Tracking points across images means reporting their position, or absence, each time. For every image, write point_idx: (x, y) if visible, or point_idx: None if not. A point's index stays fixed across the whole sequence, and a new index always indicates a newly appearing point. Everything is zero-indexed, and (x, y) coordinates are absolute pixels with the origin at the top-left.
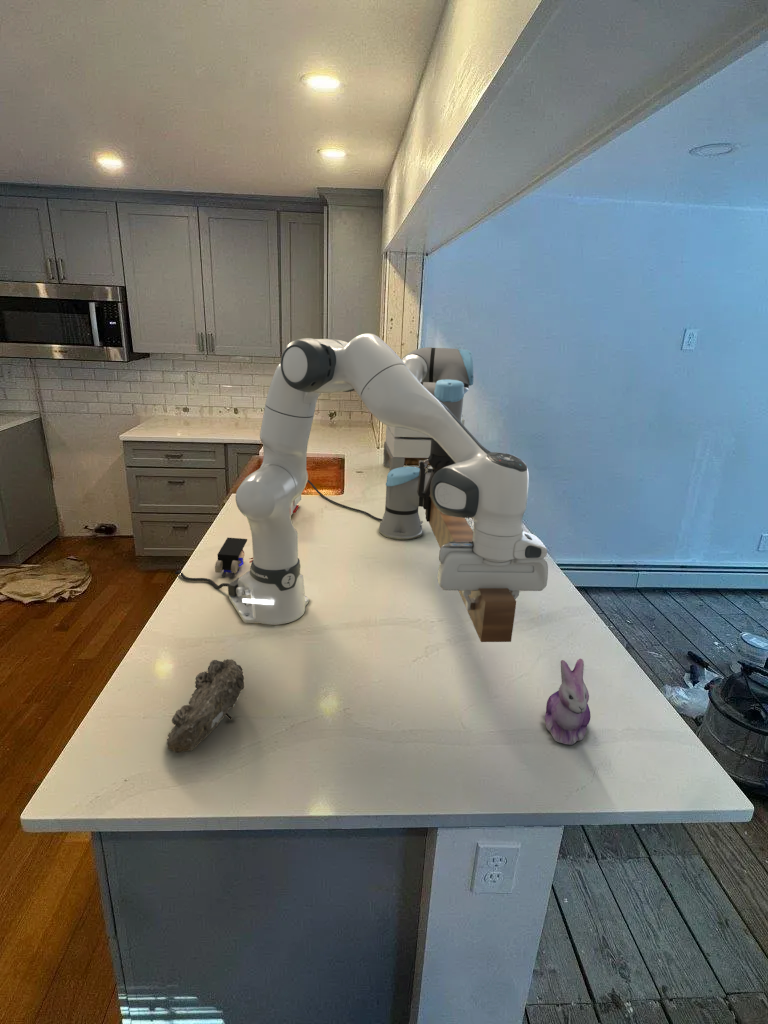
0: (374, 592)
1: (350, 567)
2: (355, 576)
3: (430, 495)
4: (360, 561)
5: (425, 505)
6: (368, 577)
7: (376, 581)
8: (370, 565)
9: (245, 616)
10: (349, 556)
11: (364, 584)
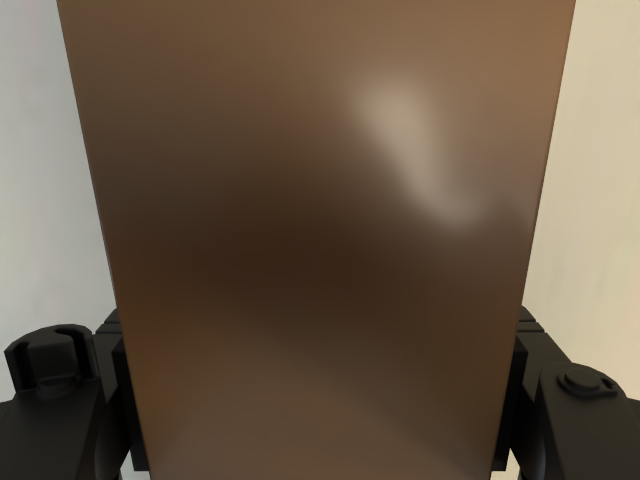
0: (593, 46)
1: (630, 268)
2: (632, 192)
3: (484, 458)
4: (577, 317)
5: None
6: (582, 184)
7: (558, 149)
8: (547, 285)
9: None
10: (608, 354)
11: (615, 121)
